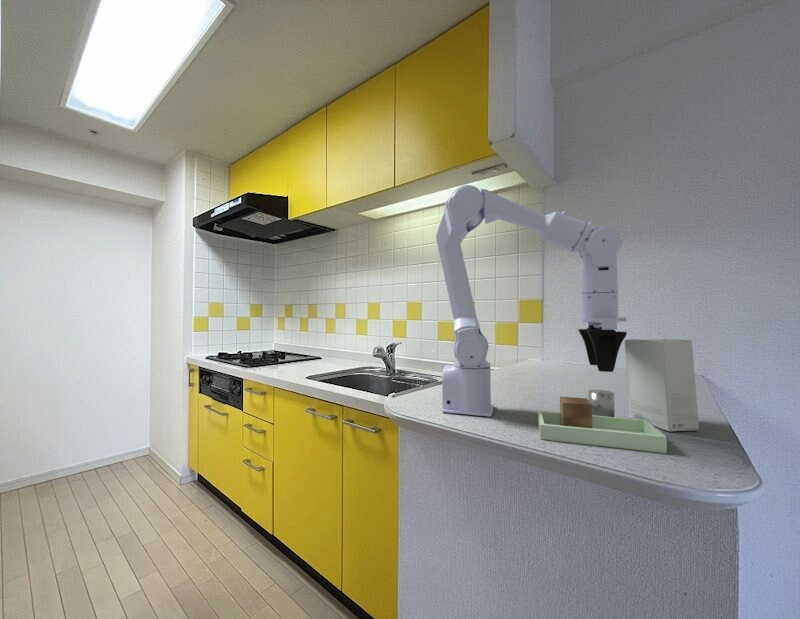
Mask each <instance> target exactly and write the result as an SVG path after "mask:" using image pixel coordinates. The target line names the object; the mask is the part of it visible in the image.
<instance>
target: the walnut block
mask: <svg viewBox="0 0 800 619" xmlns="http://www.w3.org/2000/svg"><path fill="white" fill-rule="evenodd" d="M559 413H560V426H570V427H581V428H591V429H592V404H591V403H590V402H589V398H587V397H572V396H559Z"/></svg>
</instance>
